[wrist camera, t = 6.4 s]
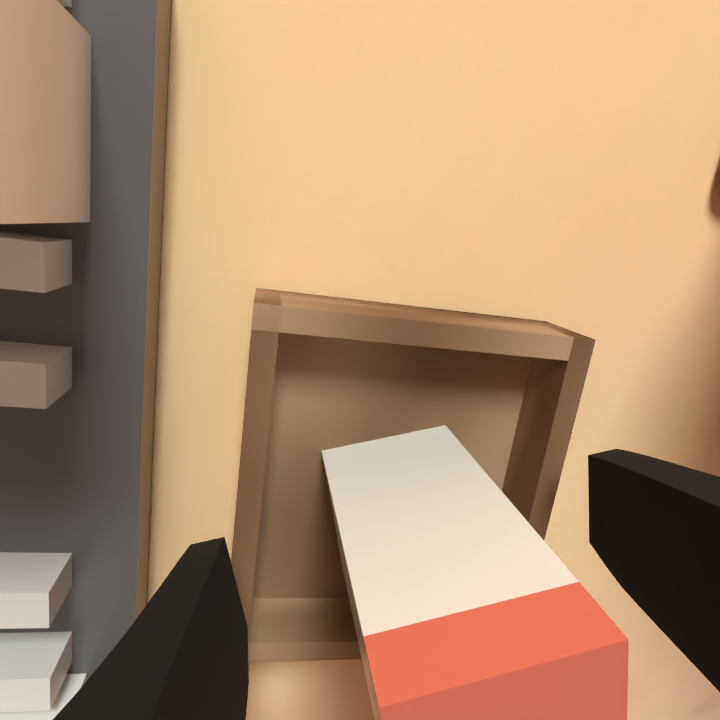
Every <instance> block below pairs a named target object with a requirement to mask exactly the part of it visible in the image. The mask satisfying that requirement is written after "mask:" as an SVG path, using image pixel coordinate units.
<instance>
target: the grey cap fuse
mask: <svg viewBox="0 0 720 720" xmlns="http://www.w3.org/2000/svg"><path fill="white" fill-rule="evenodd" d="M90 159H91V35H90V34H89V33H88V32H87V31H86V30H85V29H84V28H83V27H82V26H81V25H80V24H79V23H78V22H77V21H76V19H75V18H74V17H73V16H72V15H71V14H70V13H69V12H68V11H67V10H66V9H65V8H64V7H63V6H62V5H61V4H60V3H59V2H58V1H57V0H0V224H27V223H73V222H90Z"/></svg>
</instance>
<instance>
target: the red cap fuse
mask: <svg viewBox="0 0 720 720" xmlns="http://www.w3.org/2000/svg"><path fill="white" fill-rule="evenodd" d="M322 457H323V462H324V468H325V474H326V479H327V485H328V490H329V496H330V502H331V507H332V513H333V518H334V524H335V530H336V535H337V541H338V547H339V552H340V558H341V563H342V568H343V572H344V577H345V582H346V587H347V591H348V596H349V601H350V606H351V610H352V615H353V620H354V625H355V629H356V634H357V639H358V644H359V648H360V653H361V658H362V663H363V667H364V672H365V677H366V682H367V686H368V691H369V696H370V701H371V705H372V710H373V715H374V720H627V684H628V639H627V638H626V636H625V635H624V634H623V633H622V632H621V631H620V629H619V628H618V627H617V626H616V625H615V624H614V622H613V621H612V620H611V619H610V618H609V617H608V615H607V614H606V613H605V612H604V611H603V610H602V608H601V607H600V606H599V605H598V604H597V602H596V601H595V600H594V599H593V598H592V597H591V595H590V594H589V593H588V592H587V591H586V590H585V588H584V587H583V586H582V585H581V584H580V583H579V581H578V580H577V579H576V578H575V577H574V575H573V574H572V573H571V572H570V571H569V570H568V568H567V567H566V566H565V565H564V564H563V563H562V561H561V560H560V559H559V558H558V557H557V556H556V554H555V553H554V552H553V551H552V550H551V548H550V547H549V546H548V545H547V544H546V543H545V541H544V540H543V539H542V538H541V537H540V536H539V534H538V533H537V532H536V531H535V530H534V529H533V527H532V526H531V525H530V524H529V523H528V521H527V520H526V519H525V518H524V517H523V516H522V514H521V513H520V512H519V511H518V510H517V509H516V507H515V506H514V505H513V504H512V503H511V502H510V500H509V499H508V498H507V497H506V496H505V495H504V493H503V492H502V491H501V490H500V489H499V487H498V486H497V485H496V484H495V483H494V482H493V480H492V479H491V478H490V477H489V476H488V475H487V473H486V472H485V471H484V470H483V469H482V468H481V466H480V465H479V464H478V463H477V462H476V460H475V459H474V458H473V457H472V456H471V455H470V453H469V452H468V451H467V450H466V449H465V448H464V446H463V445H462V444H461V443H460V442H459V441H458V439H457V438H456V437H455V436H454V435H453V433H452V432H451V431H450V430H449V429H448V428H447V426H446V425H444V426H440V427H435V428H430V429H425V430H420V431H415V432H410V433H405V434H400V435H396V436H391V437H386V438H381V439H376V440H371V441H366V442H361V443H357V444H352V445H347V446H342V447H337V448H332V449H327V450H322Z"/></svg>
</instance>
